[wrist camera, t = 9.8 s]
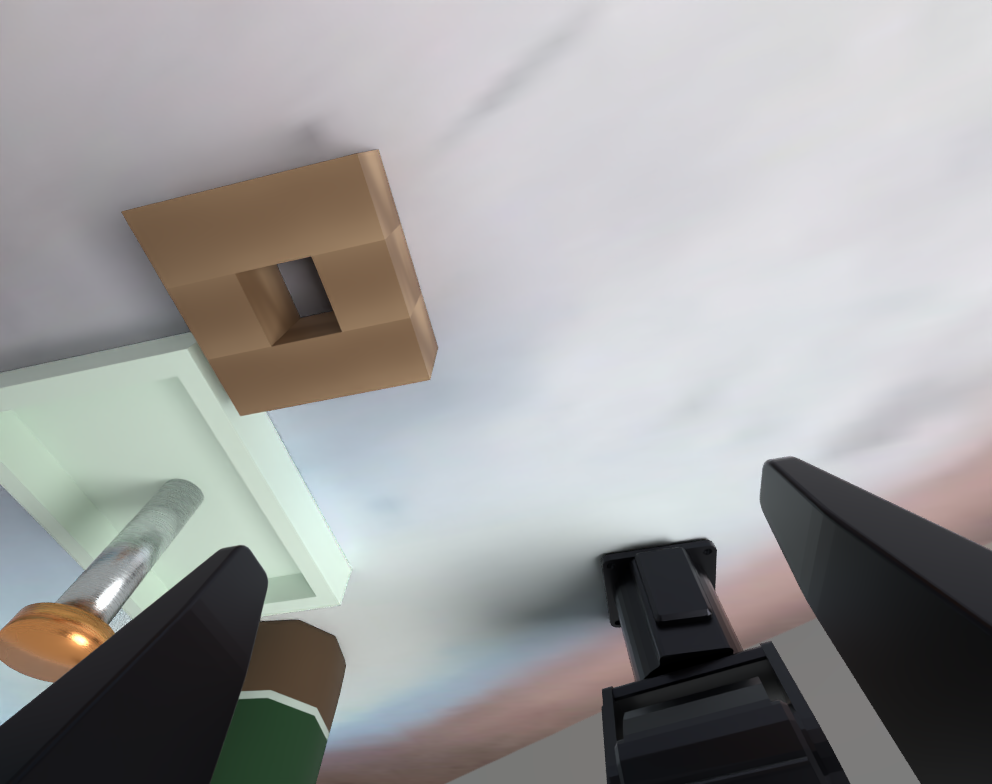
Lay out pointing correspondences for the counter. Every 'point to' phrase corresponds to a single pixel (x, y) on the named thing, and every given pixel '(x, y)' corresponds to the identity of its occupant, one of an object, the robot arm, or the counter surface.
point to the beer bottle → (283, 707)
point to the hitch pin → (97, 590)
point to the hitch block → (265, 298)
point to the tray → (162, 469)
